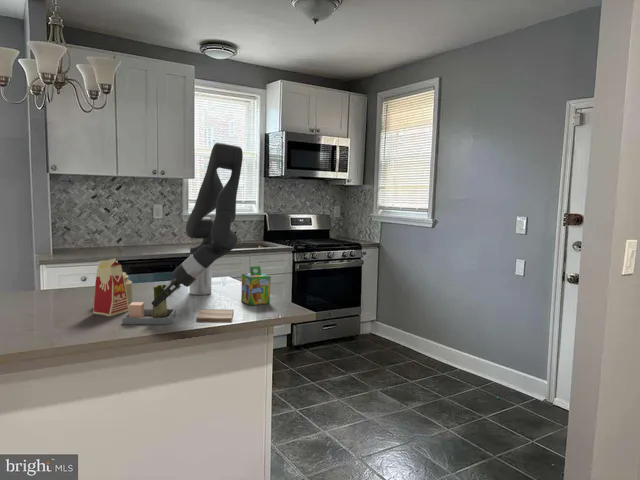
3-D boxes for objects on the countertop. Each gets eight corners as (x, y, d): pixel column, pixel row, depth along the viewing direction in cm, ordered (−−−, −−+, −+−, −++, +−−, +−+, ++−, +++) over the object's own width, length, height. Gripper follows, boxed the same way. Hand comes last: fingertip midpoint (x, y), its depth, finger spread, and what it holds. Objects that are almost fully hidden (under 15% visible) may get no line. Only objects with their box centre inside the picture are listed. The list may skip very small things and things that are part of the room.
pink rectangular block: (132, 319, 162) (132, 302, 161) (144, 319, 162) (144, 302, 162) (129, 322, 158) (128, 305, 157) (141, 322, 159) (141, 305, 158)
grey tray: (132, 314, 168) (132, 308, 167) (175, 314, 170) (175, 309, 169) (122, 323, 156) (122, 318, 156) (169, 324, 158) (169, 318, 158)
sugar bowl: (97, 299, 186) (97, 262, 185) (127, 297, 192) (127, 261, 191) (103, 308, 174) (103, 268, 172) (135, 305, 180) (135, 267, 178)
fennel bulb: (164, 315, 168) (165, 282, 167) (170, 318, 164) (170, 285, 163) (148, 318, 164) (148, 284, 163) (154, 321, 160) (154, 286, 159)
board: (200, 312, 174) (200, 309, 174) (233, 312, 175) (233, 309, 175) (196, 321, 162) (196, 318, 162) (231, 321, 163) (231, 318, 163)
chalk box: (249, 306, 186) (250, 269, 184) (240, 301, 193) (241, 265, 192) (270, 303, 191) (271, 267, 189) (260, 299, 198) (261, 264, 197)
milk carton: (129, 310, 172) (129, 256, 170) (110, 316, 164) (110, 260, 162) (109, 307, 175) (109, 254, 173) (90, 313, 167) (89, 258, 165)
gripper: (185, 259, 170) (152, 290, 170) (178, 266, 156) (143, 299, 156) (200, 274, 171) (167, 304, 171) (195, 281, 157) (159, 315, 157)
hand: (156, 302), depth 163 cm, fingers open, 8 cm apart
